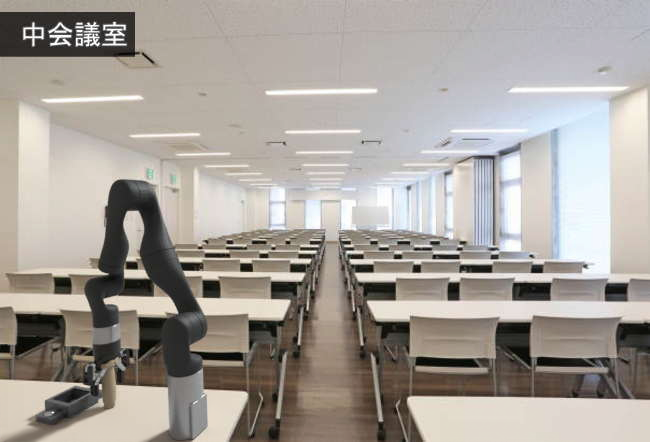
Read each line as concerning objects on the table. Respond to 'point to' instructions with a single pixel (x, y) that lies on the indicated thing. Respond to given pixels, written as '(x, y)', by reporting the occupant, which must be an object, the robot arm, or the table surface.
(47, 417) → the chain end
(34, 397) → the table surface
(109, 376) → the handle
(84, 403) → the bracket
